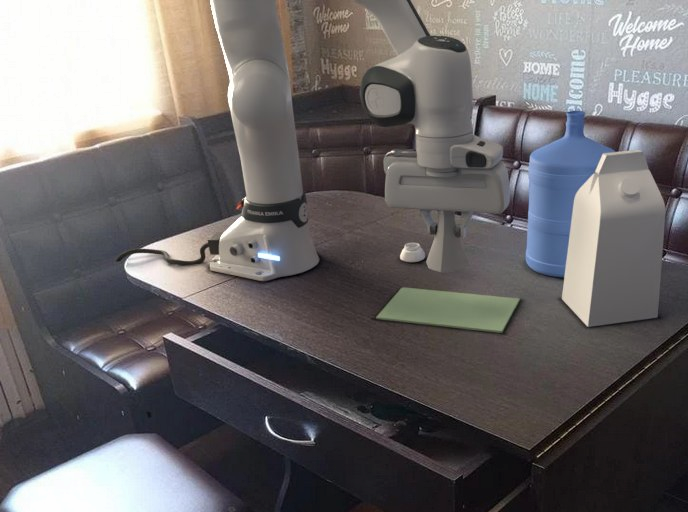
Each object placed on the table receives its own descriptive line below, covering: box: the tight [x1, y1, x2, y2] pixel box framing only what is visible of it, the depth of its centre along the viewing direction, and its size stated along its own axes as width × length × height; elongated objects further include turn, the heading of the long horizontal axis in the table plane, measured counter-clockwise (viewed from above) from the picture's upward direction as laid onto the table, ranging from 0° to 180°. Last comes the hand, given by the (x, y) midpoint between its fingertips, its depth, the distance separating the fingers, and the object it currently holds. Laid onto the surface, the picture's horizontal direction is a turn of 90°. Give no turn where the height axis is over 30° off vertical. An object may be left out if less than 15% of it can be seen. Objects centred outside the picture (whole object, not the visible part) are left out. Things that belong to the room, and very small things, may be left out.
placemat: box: [375, 286, 521, 334], centre depth 134 cm, size 22×13×1 cm, turn 69°
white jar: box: [399, 242, 426, 263], centre depth 154 cm, size 5×3×5 cm
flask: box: [425, 210, 471, 273], centre depth 127 cm, size 7×7×10 cm
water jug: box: [525, 110, 616, 279], centre depth 141 cm, size 16×16×28 cm
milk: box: [561, 149, 666, 328], centre depth 124 cm, size 12×12×26 cm
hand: (447, 235), depth 127 cm, fingers closed on flask, 3 cm apart
